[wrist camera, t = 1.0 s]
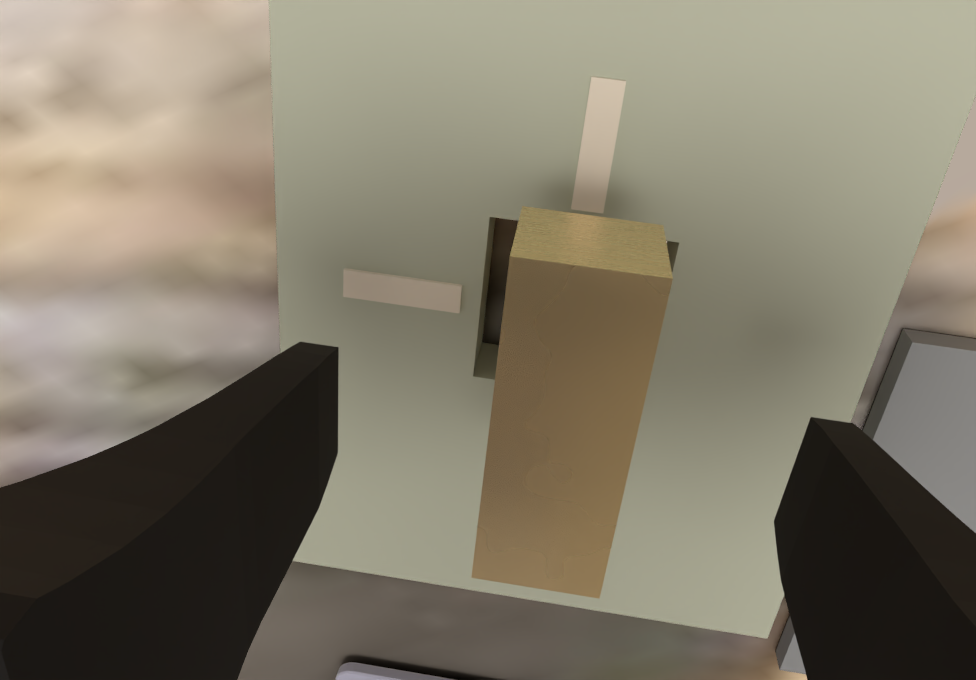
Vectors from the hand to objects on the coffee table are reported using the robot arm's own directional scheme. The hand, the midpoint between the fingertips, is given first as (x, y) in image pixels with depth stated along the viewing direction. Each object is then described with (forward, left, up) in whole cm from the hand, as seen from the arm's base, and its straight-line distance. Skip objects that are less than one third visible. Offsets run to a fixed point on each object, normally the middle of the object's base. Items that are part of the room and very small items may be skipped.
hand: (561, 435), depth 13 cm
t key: (0, 0, -6) cm, 6 cm away
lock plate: (0, 0, -6) cm, 6 cm away
